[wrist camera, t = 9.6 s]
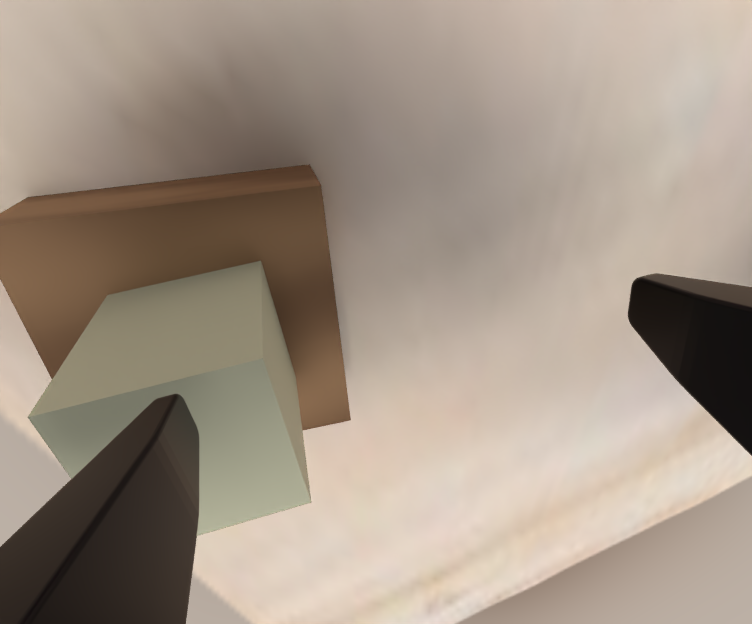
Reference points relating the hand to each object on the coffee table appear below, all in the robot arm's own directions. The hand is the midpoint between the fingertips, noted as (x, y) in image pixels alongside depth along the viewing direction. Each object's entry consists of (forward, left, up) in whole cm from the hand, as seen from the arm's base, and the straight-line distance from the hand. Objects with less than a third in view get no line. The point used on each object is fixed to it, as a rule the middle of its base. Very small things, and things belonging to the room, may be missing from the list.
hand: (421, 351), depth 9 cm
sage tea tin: (-3, +6, -8) cm, 10 cm away
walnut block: (-3, +6, -12) cm, 14 cm away
